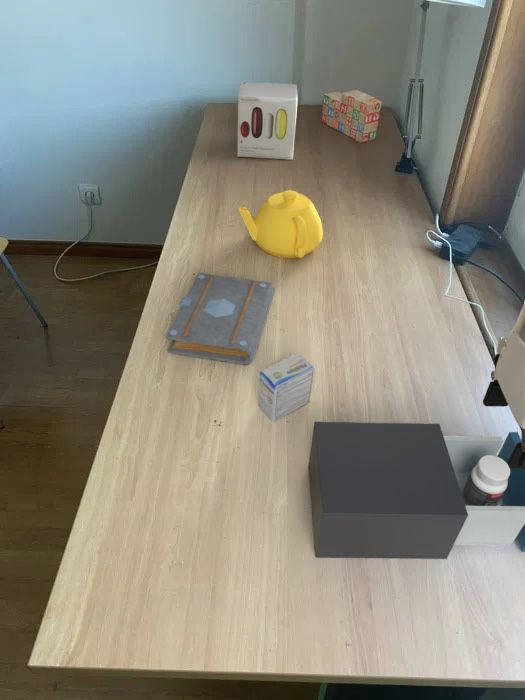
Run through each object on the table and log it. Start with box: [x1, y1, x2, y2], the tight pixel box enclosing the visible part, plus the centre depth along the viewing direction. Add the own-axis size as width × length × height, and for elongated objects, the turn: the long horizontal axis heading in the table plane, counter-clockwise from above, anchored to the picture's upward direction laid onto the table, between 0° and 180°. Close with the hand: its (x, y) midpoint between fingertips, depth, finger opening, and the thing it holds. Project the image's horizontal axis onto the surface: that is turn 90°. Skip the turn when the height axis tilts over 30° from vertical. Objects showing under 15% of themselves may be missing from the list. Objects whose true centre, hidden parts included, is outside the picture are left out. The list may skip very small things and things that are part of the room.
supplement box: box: [236, 81, 299, 161], centre depth 169 cm, size 17×13×18 cm
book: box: [165, 272, 276, 366], centre depth 109 cm, size 21×16×5 cm
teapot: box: [238, 189, 323, 259], centre depth 129 cm, size 20×19×13 cm
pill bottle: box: [461, 455, 510, 506], centre depth 76 cm, size 5×5×8 cm
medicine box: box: [258, 352, 315, 423], centre depth 92 cm, size 8×4×9 cm, turn 126°
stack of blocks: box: [320, 89, 383, 144], centre depth 185 cm, size 21×6×12 cm, turn 34°
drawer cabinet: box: [307, 421, 468, 560], centre depth 77 cm, size 18×15×11 cm
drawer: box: [443, 431, 525, 553], centre depth 77 cm, size 22×13×9 cm, turn 90°
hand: (507, 433), depth 69 cm, fingers open, 9 cm apart
